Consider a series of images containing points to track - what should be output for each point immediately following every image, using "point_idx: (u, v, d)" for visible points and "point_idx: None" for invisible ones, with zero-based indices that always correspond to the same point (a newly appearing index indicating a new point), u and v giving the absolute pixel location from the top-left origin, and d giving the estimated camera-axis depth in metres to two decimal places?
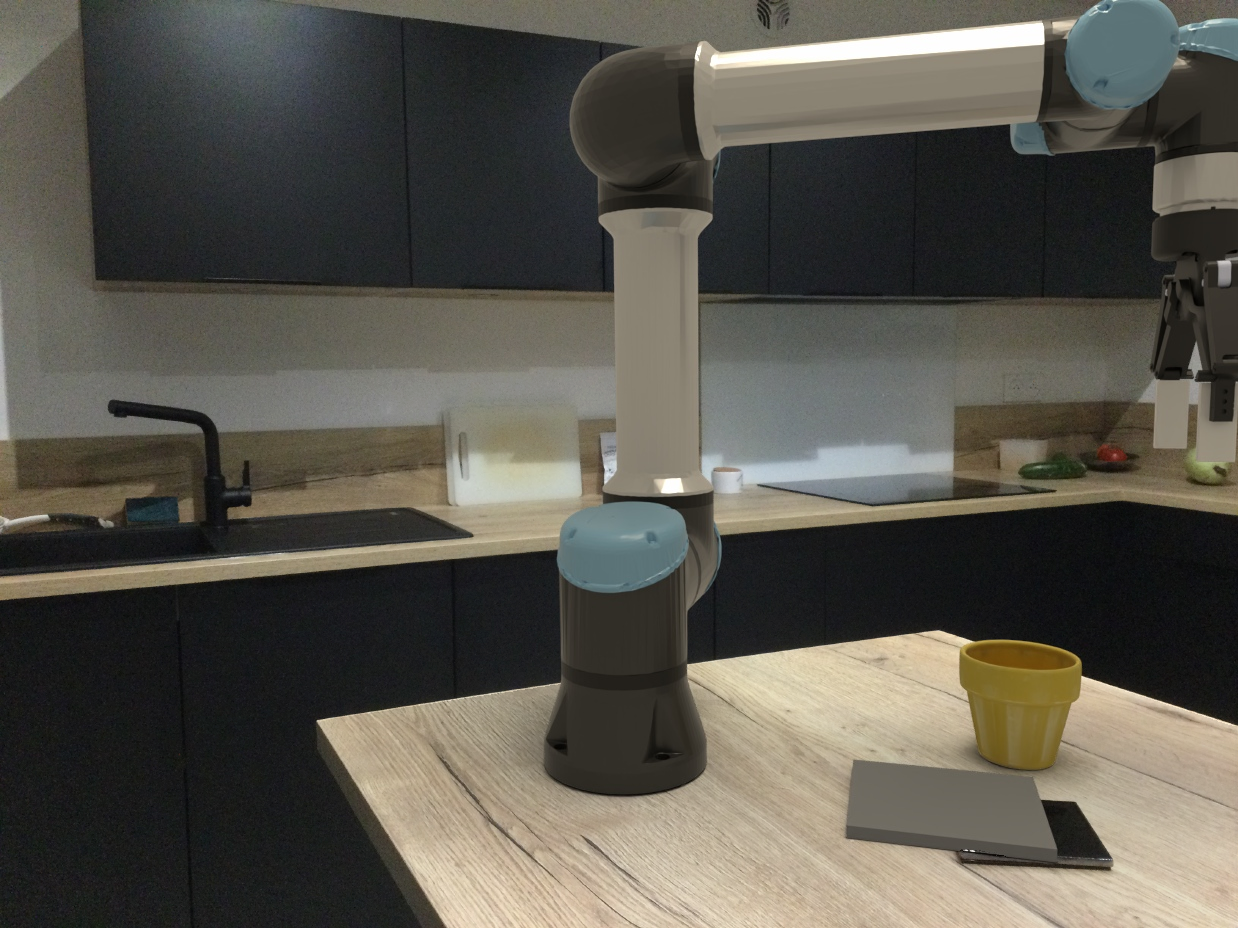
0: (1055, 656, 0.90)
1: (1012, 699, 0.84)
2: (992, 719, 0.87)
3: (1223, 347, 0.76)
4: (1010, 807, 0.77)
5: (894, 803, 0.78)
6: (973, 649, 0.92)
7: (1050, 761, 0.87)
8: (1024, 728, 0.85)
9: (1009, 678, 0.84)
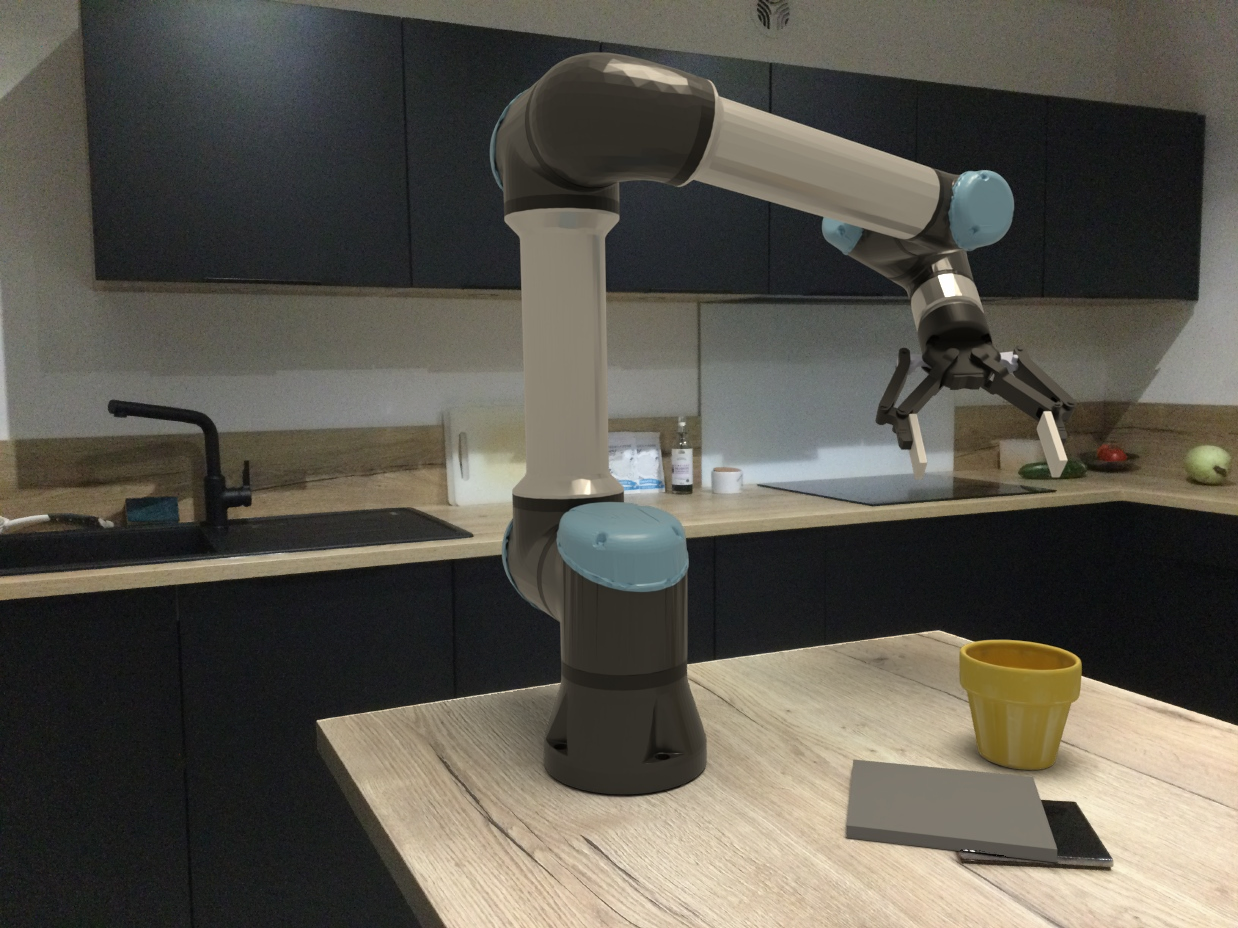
0: (1055, 655, 0.90)
1: (1012, 699, 0.84)
2: (992, 719, 0.87)
3: None
4: (1010, 807, 0.77)
5: (894, 803, 0.78)
6: (973, 649, 0.92)
7: (1050, 761, 0.87)
8: (1024, 728, 0.85)
9: (1009, 678, 0.84)
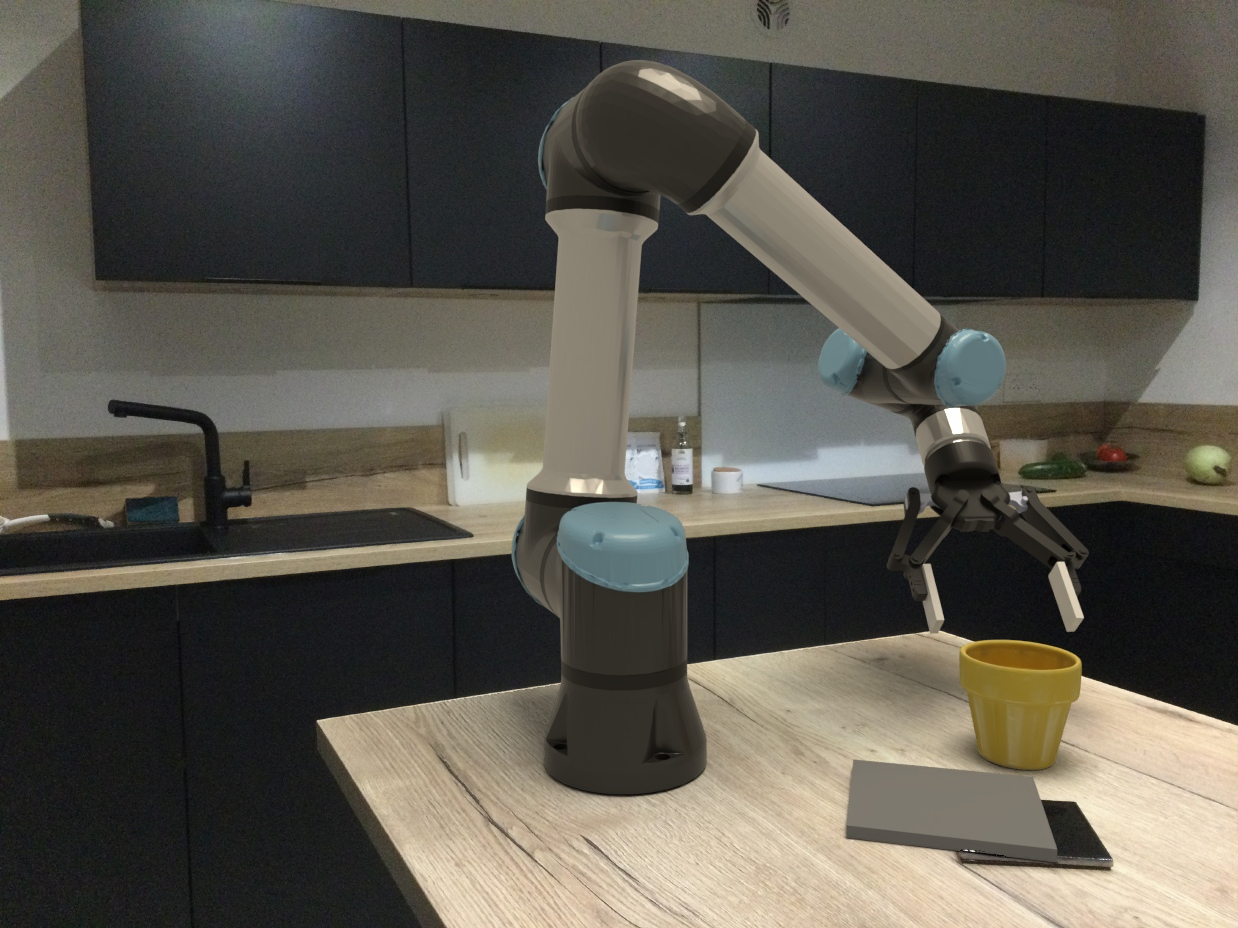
0: (1055, 655, 0.91)
1: (1012, 699, 0.84)
2: (992, 719, 0.87)
3: None
4: (1010, 807, 0.77)
5: (894, 803, 0.78)
6: (973, 649, 0.92)
7: (1050, 761, 0.87)
8: (1024, 728, 0.85)
9: (1009, 678, 0.84)
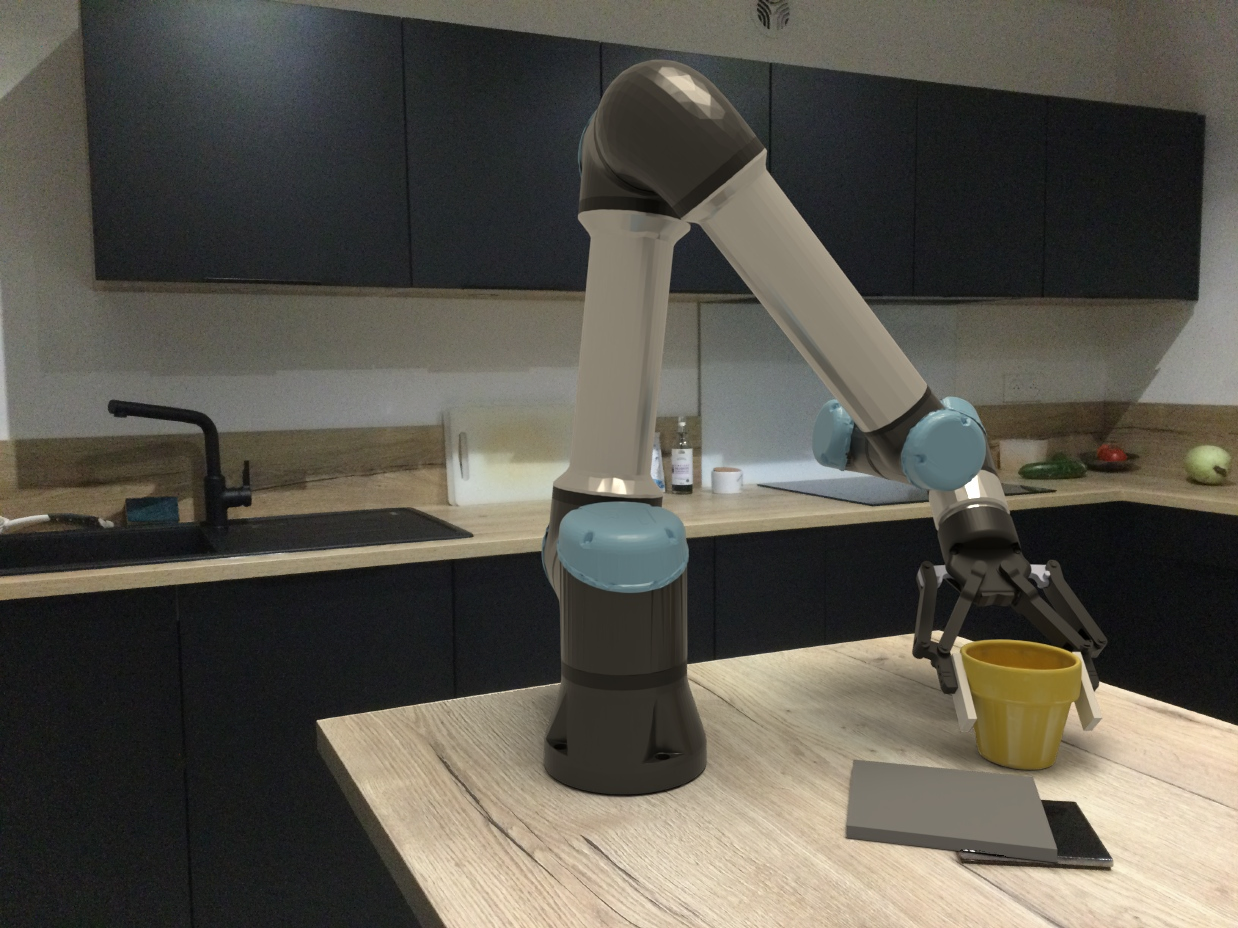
0: (1055, 655, 0.90)
1: (1012, 699, 0.84)
2: (992, 719, 0.87)
3: None
4: (1010, 807, 0.77)
5: (894, 803, 0.78)
6: (973, 649, 0.92)
7: (1050, 761, 0.87)
8: (1024, 728, 0.85)
9: (1009, 678, 0.84)
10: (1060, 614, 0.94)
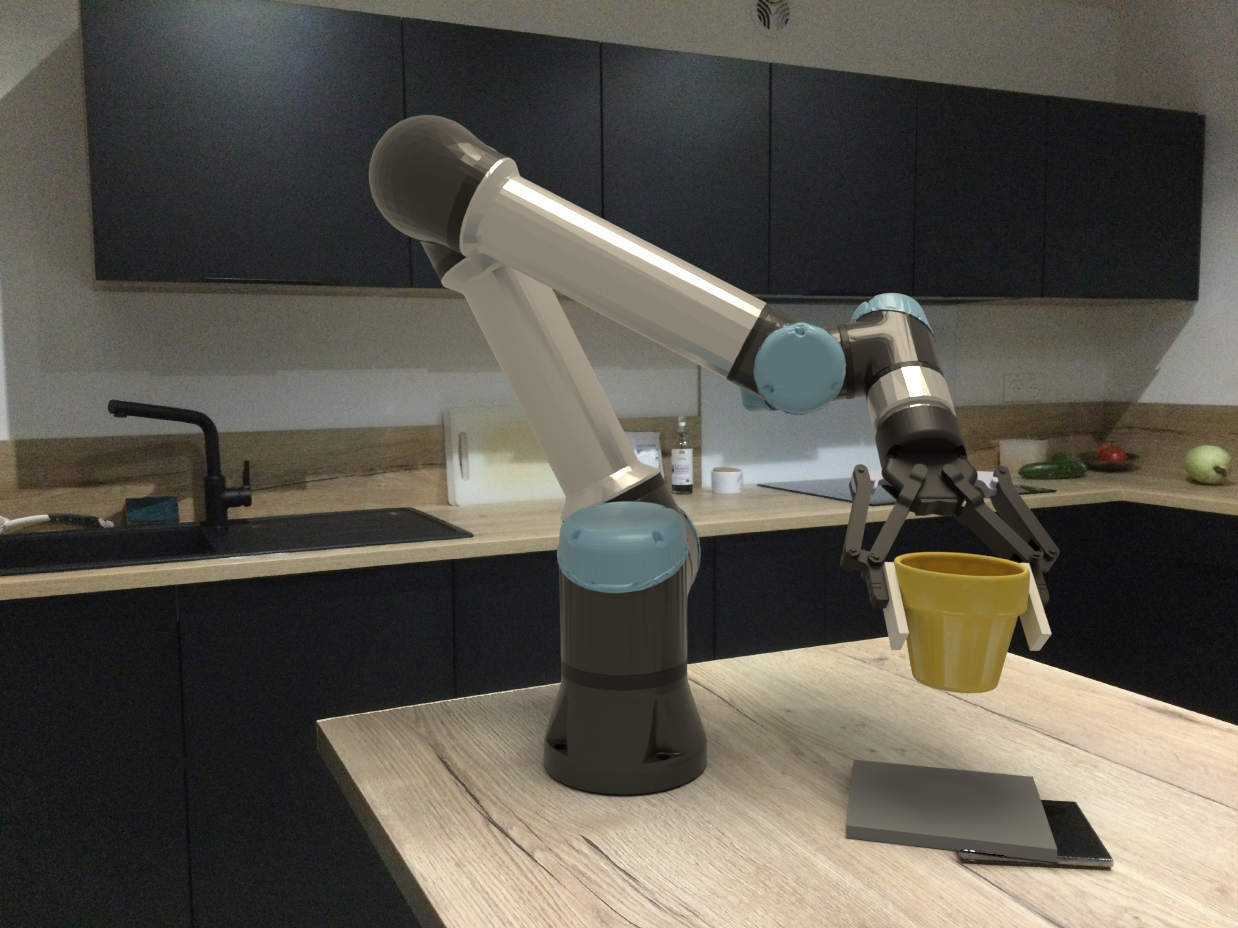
0: (1001, 568, 0.80)
1: (949, 610, 0.73)
2: (927, 635, 0.75)
3: None
4: (1010, 807, 0.77)
5: (894, 803, 0.78)
6: (910, 561, 0.81)
7: (992, 684, 0.76)
8: (963, 644, 0.74)
9: (947, 586, 0.73)
10: (1008, 525, 0.83)
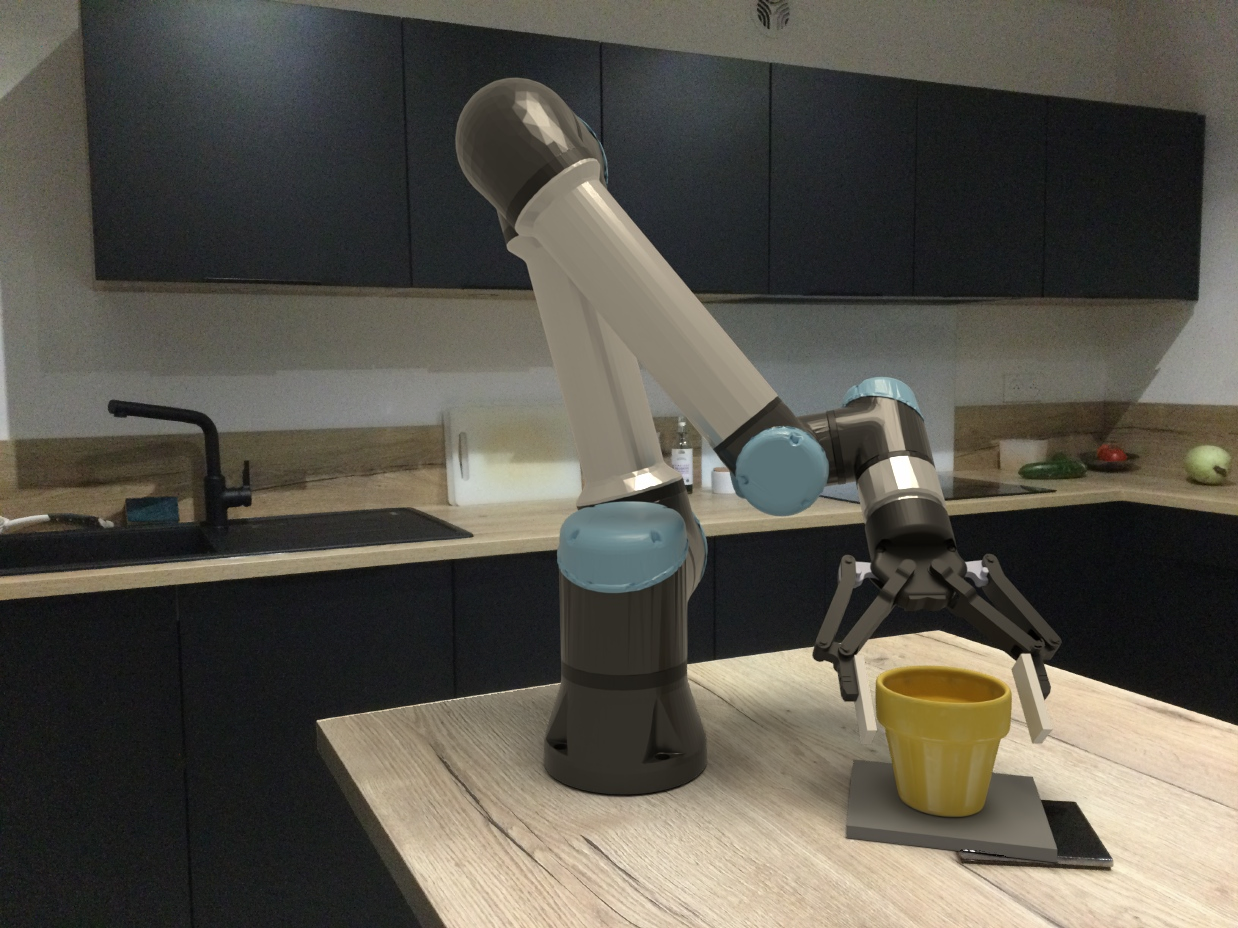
0: (986, 684, 0.79)
1: (928, 737, 0.73)
2: (909, 758, 0.76)
3: None
4: (1010, 807, 0.77)
5: (894, 803, 0.78)
6: (894, 677, 0.81)
7: (976, 807, 0.75)
8: (944, 769, 0.74)
9: (924, 713, 0.73)
10: (1005, 614, 0.83)
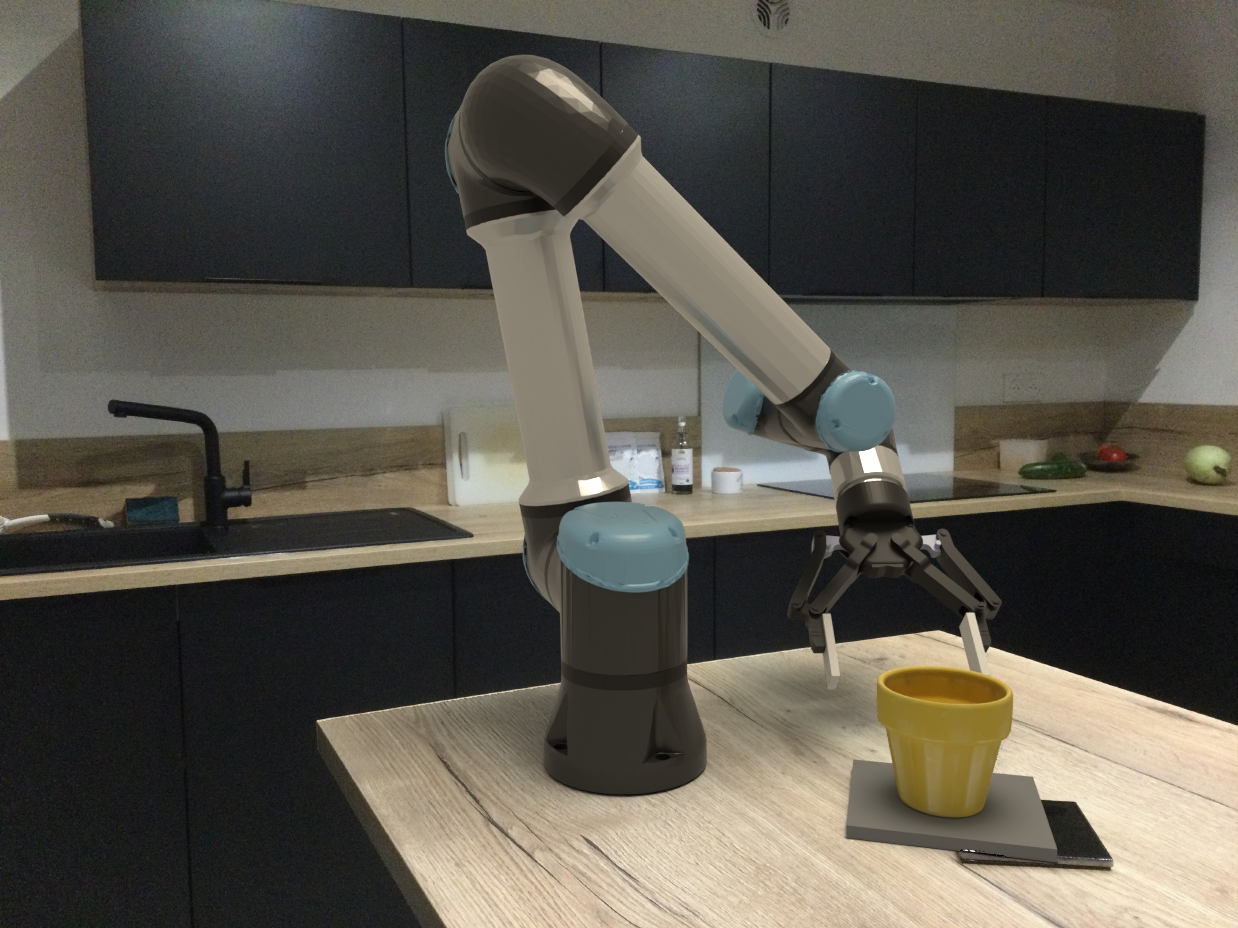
0: (987, 685, 0.79)
1: (929, 738, 0.73)
2: (909, 759, 0.75)
3: None
4: (1010, 807, 0.77)
5: (894, 803, 0.78)
6: (895, 677, 0.81)
7: (976, 807, 0.75)
8: (944, 770, 0.74)
9: (926, 713, 0.73)
10: (955, 581, 0.96)
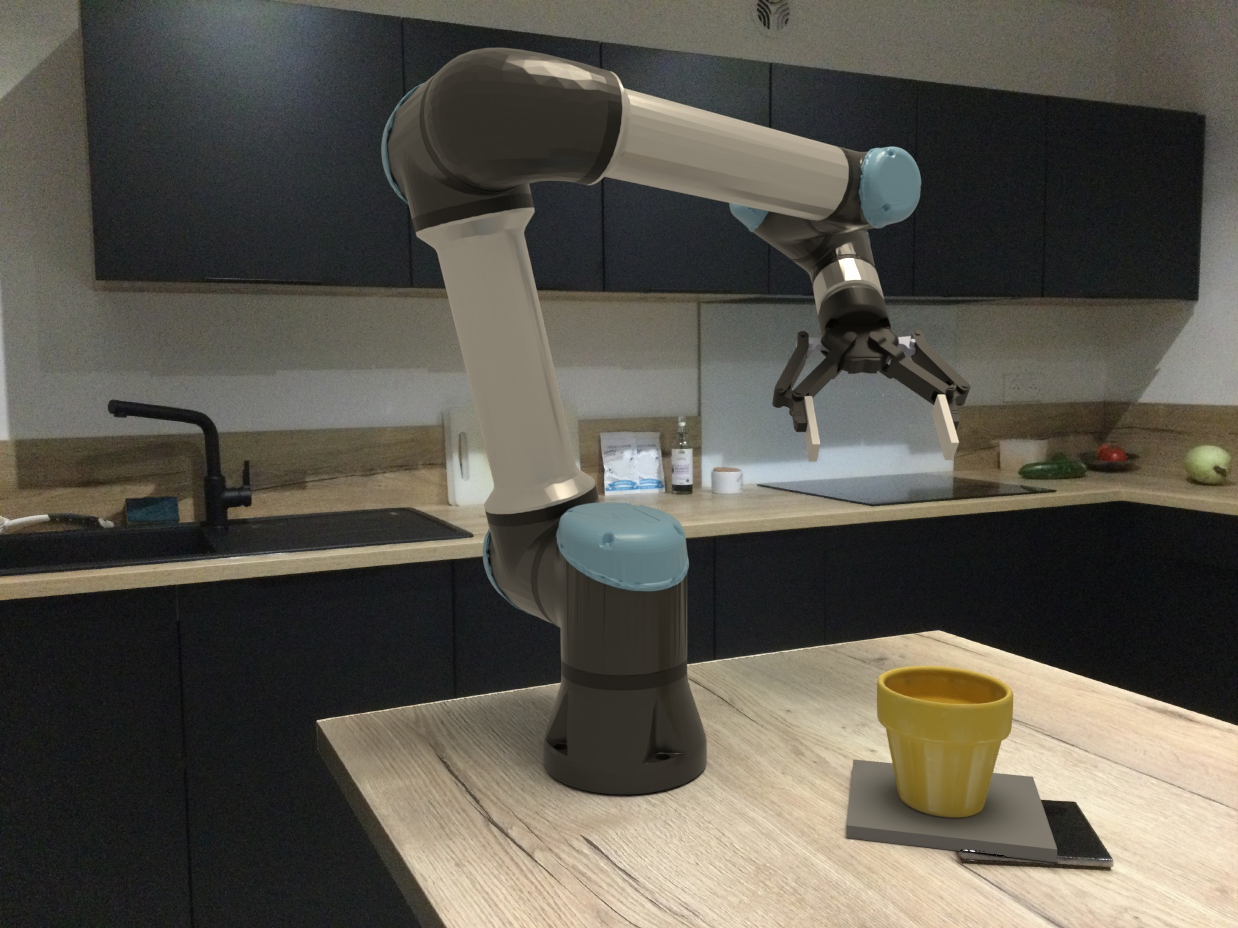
0: (988, 685, 0.79)
1: (929, 738, 0.73)
2: (909, 759, 0.75)
3: None
4: (1010, 807, 0.77)
5: (894, 803, 0.78)
6: (896, 677, 0.81)
7: (976, 808, 0.75)
8: (944, 770, 0.74)
9: (926, 713, 0.73)
10: None
